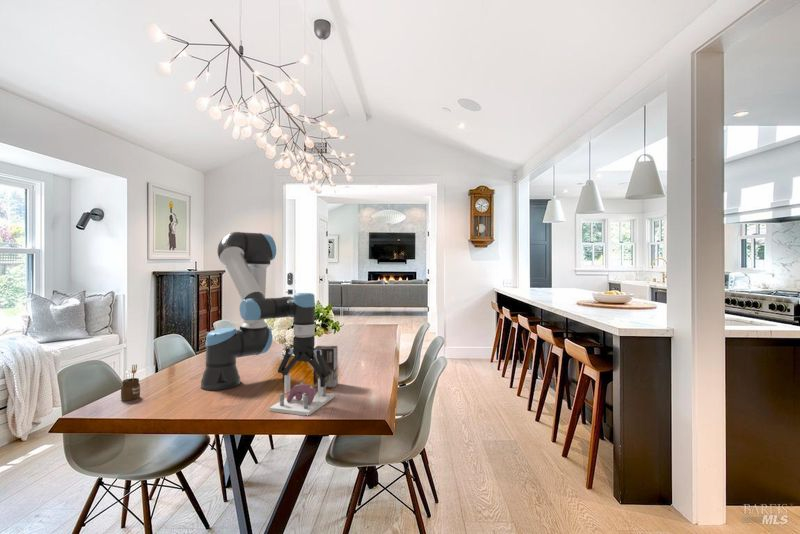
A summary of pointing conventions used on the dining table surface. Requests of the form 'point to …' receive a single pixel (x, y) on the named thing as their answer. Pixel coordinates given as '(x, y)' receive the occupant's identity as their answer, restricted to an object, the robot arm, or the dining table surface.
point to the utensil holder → (130, 387)
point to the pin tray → (301, 404)
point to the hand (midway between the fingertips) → (303, 394)
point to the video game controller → (300, 389)
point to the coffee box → (332, 364)
